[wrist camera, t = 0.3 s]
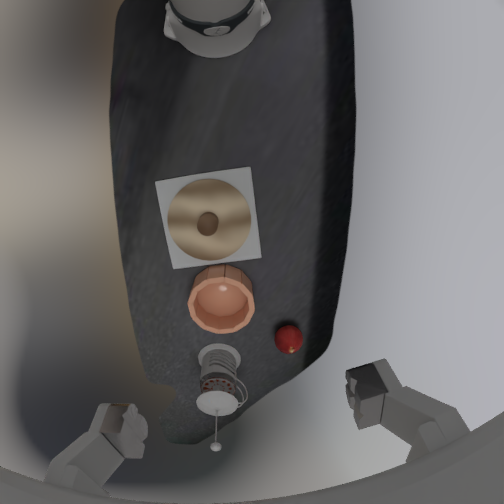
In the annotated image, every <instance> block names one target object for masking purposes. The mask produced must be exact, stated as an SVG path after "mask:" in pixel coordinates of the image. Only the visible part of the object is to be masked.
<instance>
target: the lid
mask: <svg viewBox="0 0 504 504" xmlns="http://www.w3.org/2000/svg"><path fill="white" fill-rule="evenodd" d="M167 222H168V229H169V232H170V235H171V237H172V239H173V241H174V242H175V243H176V245H177V246H178V247H179V248H180V249H181V250H182V251H183V252H185V253H186V254H188V255H189V256H192V257H194V258H197V259H200V260H207V261H212V260H220V259H223V258H226V257H228V256H230V255H232V254H233V253H235V252H236V251H237V250H239V249H240V247H241V246H242V245H243V244H244V242H245V241H246V239H247V237H248V235H249V232H250V228H251V214H250V209H249V206H248V203H247V201H246V199H245V198H244V197H243V195H242V194H241V193H240V192H239V191H238V190H237V189H236V188H235V187H233V186H232V185H230V184H228V183H226V182H224V181H221V180H216V179H201V180H197V181H194V182H192V183H190V184H188V185H186V186H185V187H183V188H182V189H181V190H180V191H179V192H178V193H177V194H176V196H175V197H174V198H173V200H172V202H171V204H170V207H169V210H168V217H167Z"/></svg>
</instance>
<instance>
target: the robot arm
mask: <svg viewBox="0 0 504 504" xmlns="http://www.w3.org/2000/svg"><path fill="white" fill-rule="evenodd" d="M166 10H167V13H166V19H165V25H164V34H165V36H166V37H167V38H170V39H173V40H176V41H178V42H180V43H181V44H182V45H183V46H184V47H185V48H186V49H188V50H189V51H190V52H192V53H194V54H196V55H199V56H202V57H208V58H221V57H226V56H230V55H233V54H235V53H237V52H239V51H241V50H243V49H244V48H245V47H247V46H248V45H249V44H250V43H251V41H252V40H253V39H254V37H255V35H256V34H257V32H258V31H259V30H260V29H262V28H263V27H265V26H266V25H268V24H269V23H270V21H271V16H270V13H269V11H268V9H267V7H266V4H265V2H264V0H169V1H168V3H166ZM263 13H264V14H263ZM169 26H170V27H169ZM346 379H347V382H348V383H347V384H346V394H347V399H348V403H349V406H350V408H352V409H353V410H354V419H355V422H356V424H357V427H358V429H359V430H360V429H363V428H367V427H370V426H373V425H377V424H381V425H382V426H383V427H385V428H386V429H388V430H389V431H391V432H392V433H394V434H395V435H397V436H398V437H400V438H401V439H402V440H404V441H405V442H407V443H409V444H410V445H411V446H412V447H411V450H410V452H409V455H408V457H407V459H406V463H405V464H403V465H400V466H397V467H395V468H392V469H389V470H386V471H384V472H381V473H378V474H375V475H372V476H369V477H366V478H363V479H359V480H356V481H353V482H349V483H346V484H342V485H338V486H334V487H330V488H326V489H322V490H317V491H313V492H308V493H303V494H297V495H292V496H286V497H279V498H272V499H265V500H257V501H246V502H234V503H214V504H504V412H502V413H501V414H499V415H497V416H496V417H494V418H493V419H491V420H490V421H488V422H486V423H485V424H483V425H482V426H480V427H478V428H476V429H475V430H473V431H471V432H470V430H469V429H468V427H467V425H466V424H465V422H464V421H463V419H462V417H461V416H460V414H459V413H458V411H457V410H456V408H454V407H451V406H449V405H447V404H445V403H442V402H440V401H438V400H435V399H433V398H431V397H429V396H427V395H425V394H422V393H420V392H418V391H416V390H414V389H411V388H409V387H407V386H405V387H402V385H401V384H400V382H399V380H398V379H397V377H396V375H395V373H394V372H393V370H392V369H391V367H390V365H389V363H388V362H387V360H386V359H381V360H378V361H375V362H372V363H368V364H365V365H362V366H359V367H356V368H352V369H349V370H346ZM137 411H138V409H137V407H136V406H135V405H134V404H100V405H99V406H98V409H97V411H96V414H95V417H94V419H93V421H92V424H91V427H90V429H89V432H85V433H84V434H83V435H81V436H80V437H79V438H78V439H77V440H76V441H74V442H73V443H72V444H71V445H70V446H69V447H67V448H66V449H65V450H63V451H62V452H61V453H60V454H59V455H57V456H56V457H55V458H54V459H53V460H52V461H51V463H50V466H49V468H48V471H47V474H46V476H45V479H44V481H43V482H42V481H39V480H36V479H33V478H30V477H27V476H24V475H21V474H19V473H16V472H13V471H11V470H8V469H5V468H3V467H1V466H0V504H176V503H155V502H144V501H135V500H126V499H119V498H112V497H110V495H109V493H108V492H107V491H105V490H104V489H103V488H101V487H102V485H103V484H104V483H105V481H106V480H108V478H109V477H110V476H111V475H112V474H113V472H114V471H115V470H116V469H117V468H118V466H119V465H120V464H121V463H122V462H123V460H124V458H142V456H143V452H144V448H145V445H144V443H143V440H144V439H145V438H146V437H147V434H148V427H147V423H146V420H145V419H144V417H143V416H142V415H140V414H138V413H137Z"/></svg>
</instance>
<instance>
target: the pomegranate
mask: <svg viewBox="0 0 504 504" xmlns="http://www.w3.org/2000/svg"><path fill="white" fill-rule="evenodd" d="M302 341H303V337H302V333H301V331H300V330H299V329H298V328H297V327H295V326H292V325H287V326H283V327H282V328H280V329H279V330H278V331H277V332H276V334H275V344H276V347H277V348H278V349H279V350H280V351H281V352H283V353H286V354H292V353H294V352H296V351H297V350H299V349H300V347H301V345H302Z"/></svg>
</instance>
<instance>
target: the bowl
mask: <svg viewBox="0 0 504 504" xmlns="http://www.w3.org/2000/svg"><path fill="white" fill-rule="evenodd" d="M188 307H189V311H190V315H191V317H192V319H193V320H194V321H195V322H196V323H197V324H198V325H199V326H200V327H201V328H203V329H205V330H208V331H211V332H214V333H217V334H218V332H219V334H223V333H232V332H234V331H235V332H236V331H237V330H239V329H241V328H242V327H244V326H245V325H247V324H248V323H249V321H250V319H251V317H252V315H253V313H254V311H255V306H254V298H253V290H252V283H251V281H250V279H249V278H248V277H247V276H246V275H245V274H244V272H243V271H242V270H240V269H238V268H235V267H232V266H230V265H227V264H226V266H225V264H222V265H214V266H209V267H207V268H206V269H204V270H203V271H202V272H200V273H199V274H198V275H197V276H196V278H195V280H194V283H193V286H192V288H191V292H190V296H189V300H188Z"/></svg>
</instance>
